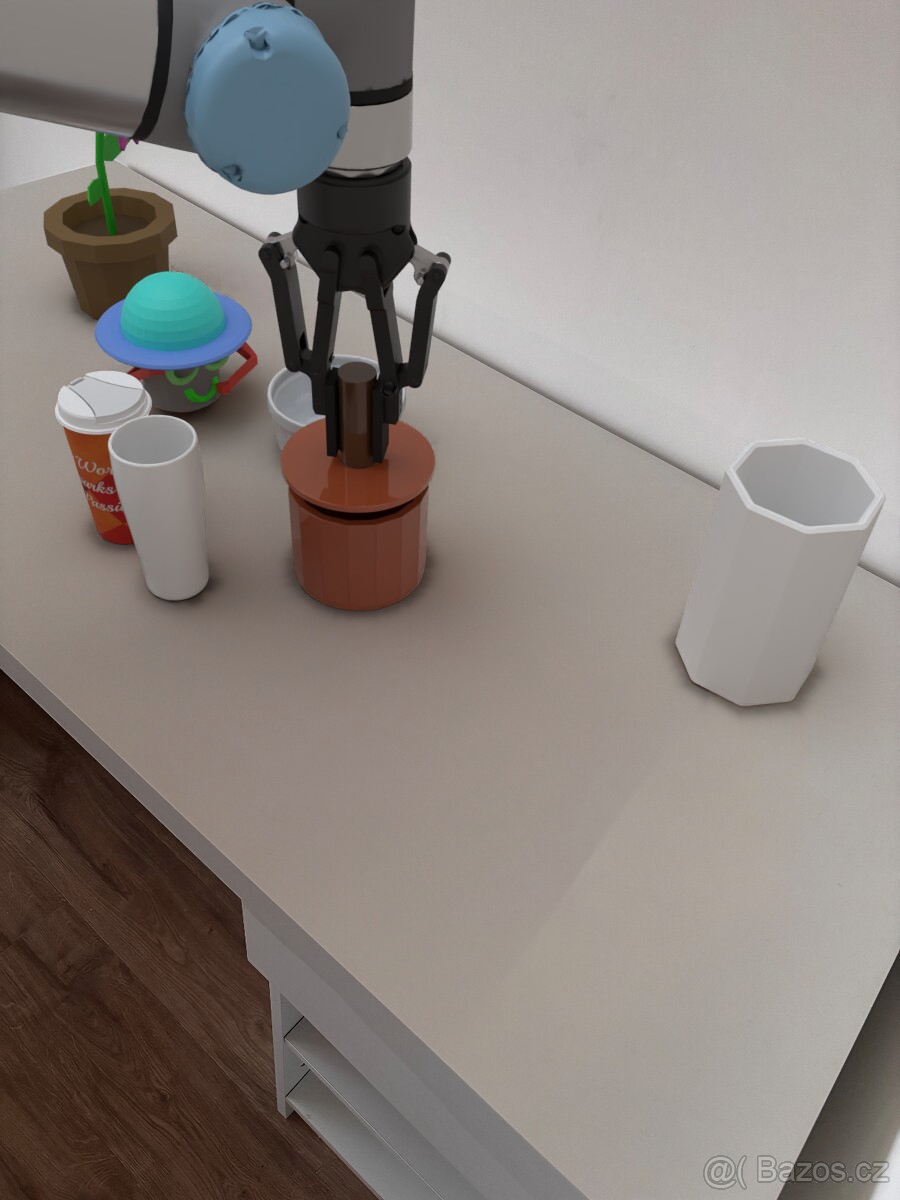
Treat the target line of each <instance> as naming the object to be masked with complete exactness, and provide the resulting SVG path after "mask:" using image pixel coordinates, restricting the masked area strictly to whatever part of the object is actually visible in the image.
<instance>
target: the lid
mask: <svg viewBox="0 0 900 1200" xmlns="http://www.w3.org/2000/svg"><path fill="white" fill-rule="evenodd" d="M376 383H377V371H376V369H375V367H374V366H372V365H371V364H368V363H365V362H359V361H355V362H348V363H345V364H343V365H341V366H340V367H339V368H338V370H337V390H338V422H339V451H338V454H337V456H336V457H331V456H327V446H326V421H325V418H323V419H319V420H317V421H314V422H312V423H310V424H308V425H306V426H304V427H303V428H301V429H300V430H298V431H297V432H296V433H295V434H293V435H292V436H291V437H290V439H289V440H288V441H287V442H286V444H285V446H284V448H283V451H282V452H281V454H280V470H281V474H282V478H283V479H284V481H285V483H286V484H287V486H288V485H289V487H290V488H291V489H292V490H293V491H294V492H295V493H296V494H297V495H299V496H300V497H302V498H303V499H305V500H307V501H308V502H310V503H312V504H315V505H317V506H320V507H323V508H327V509H330V510H335V511H340V512H350V513H365V512H375V511H381V510H386V509H390V508H393V507H396V506H399V505H402V504H404V503H406V502H408V501H410V500H411V499H413V498H415V497H416V496H417V495H419V494H420V493H421V492H422V491H423V490H424V489H425V488H426V487H427V486H428V484H430V483H431V481H432V480H433V477H434V474H435V470H436V455H435V451H434V448H433V447H432V444H431V442H430V441H429V440H428V438H427V437H426V436H425V435H423V433H421V432H420V431H419V430H418V429H417V428H415V427H413V426H411V425H409V424H408V423H406V422H404V421H402V422H401V421H399V420H398V422H397V424H396V425H393V424H389V445H388V447H387V450H386V453H385V456H384V459H383V462H382V464H381V463H374V462H373V432H372V392H373V389H374V387H375V384H376Z"/></svg>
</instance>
